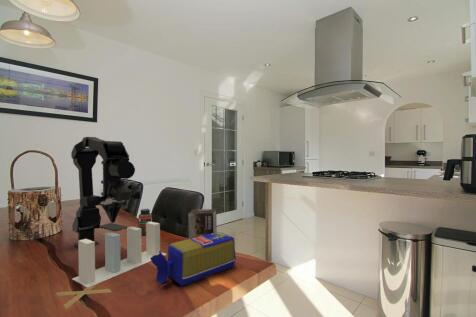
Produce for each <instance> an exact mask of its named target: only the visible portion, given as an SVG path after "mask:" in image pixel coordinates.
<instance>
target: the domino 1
mask: <svg viewBox="0 0 476 317" xmlns="http://www.w3.org/2000/svg"><path fill="white" fill-rule="evenodd" d="M77 243H78V249H77V250H78V276H79V279H80V280H81V281H83V282H85V283H87V284H89V283H91V282H94V281H95V270H96V252H95V251H96V250H95V249H96V246H95V245H96V244H95V242H94V241H91V240H88V239H83V240H79V241H78V240H77Z"/></svg>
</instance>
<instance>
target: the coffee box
mask: <svg viewBox="0 0 476 317" xmlns="http://www.w3.org/2000/svg"><path fill="white" fill-rule="evenodd" d="M187 216H188V239H191V238H195V237H199V236H203V235H207V234H211V233H216V232H218V229H217V226H218V225H217V224H218V222H217V220H218V219H217V209H216V208H213V209H212V208H204V209H203V208H200V209H198V208H197V209H195V208H193V209H192V210H191V211H190V212H188V215H187Z"/></svg>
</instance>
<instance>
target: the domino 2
mask: <svg viewBox="0 0 476 317" xmlns="http://www.w3.org/2000/svg"><path fill="white" fill-rule="evenodd" d="M104 246H105V247H104V252H105V254H104V258H105V261H104V264H105V265H104V267H105V269H106V270H108V271H110V272H113V273H116V272H119V271H121V262H120V261H121V234H119V233H116V232H113V231H110V232H107V233H106V232H105V233H104Z"/></svg>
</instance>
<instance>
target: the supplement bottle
mask: <svg viewBox="0 0 476 317" xmlns="http://www.w3.org/2000/svg"><path fill="white" fill-rule="evenodd" d="M137 219H138V220H137V221H138V222H137V223H138V224H137V226H138V227H137V228H141V236H146V223H147V222H153V214H152V213H151V209H150V208H141V209H140V214H138V218H137Z"/></svg>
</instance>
